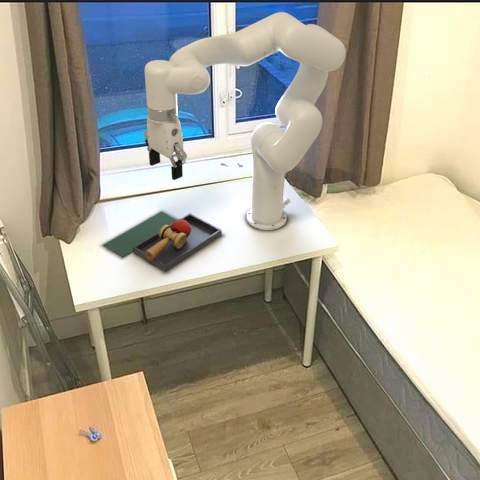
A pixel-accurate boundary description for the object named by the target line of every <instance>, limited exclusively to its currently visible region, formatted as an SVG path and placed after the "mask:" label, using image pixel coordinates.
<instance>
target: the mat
mask: <svg viewBox="0 0 480 480" xmlns="http://www.w3.org/2000/svg"><path fill="white" fill-rule="evenodd" d="M176 220H177V219H176V218H174V217H172V216H171V215H168V214H167V213H165V212H163V211H160V212H158V213H156V214H154V215H153V216H151V217H149V218H147V219H146V220H144V221H143V222H141V223H139V224H137V225H135V226H133V227H132V228H130V229H129V230H127V231H125V232H123V233H121V234H120V235H118V236H116V237H114V238H112V239H110V240H109V241H107V242H106V243H104V244H103V247H105V248H106V249H108V250H110V251H112V253H115V254H116V255H118V256H120V258H121V257H122V258H125V257H127V256H128V255H130V254H132V253H133V247H134V246H136V245H137V244H139V243H141V242H142V241H144V240H146V239H147V238H149V237H151V236H152V235H154V234H156V233H157V232H159V231H160V230H161V228H162V227H163V226H164V225H171V224H173V222H175V221H176Z"/></svg>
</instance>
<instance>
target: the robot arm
mask: <svg viewBox="0 0 480 480" xmlns="http://www.w3.org/2000/svg"><path fill="white" fill-rule="evenodd" d="M346 51H347V50H346V47H345V45H344V44H343V42H342V41H341V40H340V39H339V38H338V37H336V36H334V35H333V34H332V33H330V32H329V31H328V30H326V29H325V28H323V27H322V26H320V25H318V24H314V23H308V24H304V23H303V22H302V21H301V20H299V19H297V18H296V17H295V16H293V15H291V14H290V13H287V12H284V11H279V12H275V13H273V14H271V15H268V16H267V17H264V18H262V19H260V20H258V21H256V22H254V23H252V24H250V25H248V26H246V27H243V28H242V29H239V30H237V31H235V32H233V33H226V34H219V35H214V36H213V35H212V36H208V37H204V38H201V39H198V40H195V41H193V42H191V43H189V44H187V45H185V46H183V47H180V48H179V49H177V50H176V51H175V52H174V53H173V54H172V55H171V56H170V58H169V60H164V59H155V60H154V59H153V60H151V61H149V62H147V63H146V64H145V65H144V82H145V96H146V97H145V98H146V109H147V110H146V111H147V118H146V130H144V131H142V135H143V137H144V139H145V140H144V142H145V145H146V147H147V148H146V150H147V152H148V161H149V165H150V166H151V167H152V166H155V165H158V164H160V163H161V155H162V156H164V157H165V158H167V159H169V161H170V163H171V165H172V166H170V167H171V170H170V171H171V180H173V181H176V180H178V179H181V178H183V176H184V175H183V165H184V164H185V163H186V161H187V158H188V154H187V153H186V152H185V148H184V137H183V131H182V125H181V121H180V119H179V114H178V95H179V94H180V95H200V94H202V93H204V92H205V91H207V90H208V88H209V86H210V84H211V76H210V73H209V71H208V70H207V68H208V67H211V66H215V65H232V66H237V67H249V66H251V65H253V64H256V63H258V62H259V61H262V60H264V59H265V58H267V57H270V56H271V55H273V54H276V53H277V52H280V53H282V54H283V55H284V56H285V57H287V58H289V59H291V60H293V61H295V62H298V63H299V66H298V69H297V72H296V73H295V76H294V78H293V79H292V81H291V82H290V83H289V85H288V87H287V88H286V90H285V91H284V93H283V94H282V96H281V97H280V99H279V100H278V102H277V104H276V105H275V110H274V111H275V112H274V114H275V117H276V119H278V121H279V123H281V124H282V126H284V127H285V128H286V129H285V130H283V129H282V128H281V127H280V126H278V124H276V123H273V122H269V121H268V122H267V121H266V122H262V123H260V124H258V125H257V126H256V127H255V128H254V129H253V132H252V134H251V138H250V148H251V155H252V187H251V189H252V190H251V208H250V209H249V210H248V211H247V213H246V221H247V223H248V224H249V225H250V226H252V227H253V228H256V229H258V230H261V231H273V230H277V229H280V228H282V227H283V226H284V225H285V224H286V223H287V217H288V216H287V213H286V212H285V211H284V209H285V207H286V206H288V205H290V203H291V199H290V198H288V197H286V198H285V199H284V190H285V177H286V173H289V172H290V171H292V170H294V169H295V168H296V166H298V164H299V163H300V162H301V161H302V159H303V158H304V157H305V155H306V153H307V152H308V151H309V150H310V147H311V146H312V144H313V143H314V142H315V141H316V140H317V138H318V136H319V134H320V133H321V130H322V126H323V116H322V113H321V111H320V110H319V108H317V106H316V105H315V104H316V102H317V100H318V99H319V97H320V95H321V94H322V93H323V90H324V89H325V87H326V86H327V85H326V84H327V82H328V77H329V73H330V72H334V71H336V70H338V69H339V68H340V67H341V66H342V65H343V63H344V62H345V59H346V56H347V55H346V54H347V53H346ZM175 158H177V160H175Z"/></svg>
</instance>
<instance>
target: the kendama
mask: <svg viewBox="0 0 480 480" xmlns="http://www.w3.org/2000/svg"><path fill="white" fill-rule="evenodd" d="M179 219H180V220H179ZM179 219H176V221H175V222H173V224H172V225H171V227H170V226H169V225H164V226H163V227H162V228H161V230H160V232H159V238H161V239H163V240H161V241H160V242H158V243H157V244H156V245H154V246H153V247H151V248H150V249H149V250H147V251H146V252H145V256H146V258H147V259H149V260H153V259H154V258H155V257H156V256H157V255H158V254H159V253H160V252H161V251H162V250H163V249H164V248H165V247H166V245H167V244H168V243H169V242H170V241H172V242H173V245H174V247H175V248H177V249H179V248H181V247H182V246H183V245H184V243H185V241H186V238H187V237H188V236H189V235H190V233H191V226H190V224H189V223H188V222H187V221H185V220H182V219H181V218H179Z"/></svg>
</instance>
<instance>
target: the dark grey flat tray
mask: <svg viewBox="0 0 480 480" xmlns="http://www.w3.org/2000/svg"><path fill="white" fill-rule="evenodd" d="M180 219H182V220H185V221H187V222H188V223H189V224H190V226H191V233H190V235H189V236H188V237H187V238H186V241H185V243H184V245H183V246H182V247H181V248H179V249H177V248H175V247H174V245H173V242H172V241H170V242H169V243H168V244H167V245H166V247H165V248H164V249H163V250H162V251H161V252H160V253H159V254H158V255H157V256H156V257H155V258H154V259H153V260H149V259H147V258H146V256H145V252H146V251H147V250H149V249H150V248H151V247H153V246H154V245H156V244H157V243H158V242H160V241H161V240H163V239H161V238H159V232H160V231H159V232H157V233H156V234H154V235H152V236H151V237H149V238H147V239H146V240H144V241H142V242H141V243H139V244H137V245H136V246H134V247H133V252H132V253H133V254H134V255H136V256H138V257H140V258H141V259H142V260H145V261H146V262H148V264H149V263H150V264H152V266H154V267H156V268H158V269H159V270H161V271H162V272H164V273H167V272H169V271H171V270H172V269H173V268H175V267H177V265H179V264H181V263H183V262H184V261H185V260H187V259H188V258H190V257H191V256H193V255H195V254H196V253H197V252H199V251H200V250H202V249H203V248H205V247H206V246H208V245H210V244H211V243H213V242H215V241H216V240H217V239H219V238H220V237H222V236H223V231H222V229H221V228H219V227H217V226H215V225H213V224H211V223H210V222H208V221H205V220H204V219H202V218H200V217H199V216H196V215H195V214H192V213H190V212H189V213H188V214H185V215H184V216H183V217H181V218H179V219H178V220H180ZM171 225H172V224H171ZM171 225H169V226H170V227H171Z"/></svg>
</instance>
